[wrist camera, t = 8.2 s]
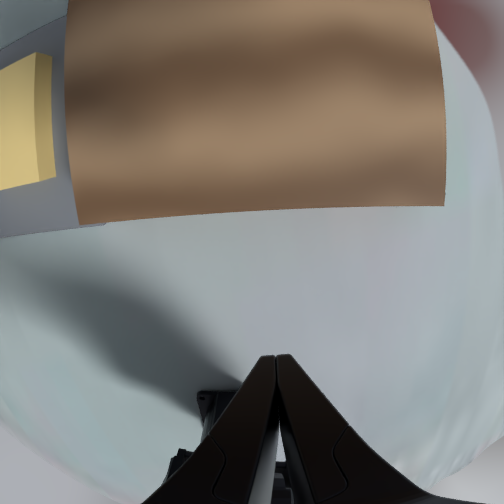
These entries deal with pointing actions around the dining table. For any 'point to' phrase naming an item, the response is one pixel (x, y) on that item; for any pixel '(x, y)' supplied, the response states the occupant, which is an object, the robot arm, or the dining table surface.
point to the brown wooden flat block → (252, 106)
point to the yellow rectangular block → (26, 122)
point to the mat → (60, 187)
